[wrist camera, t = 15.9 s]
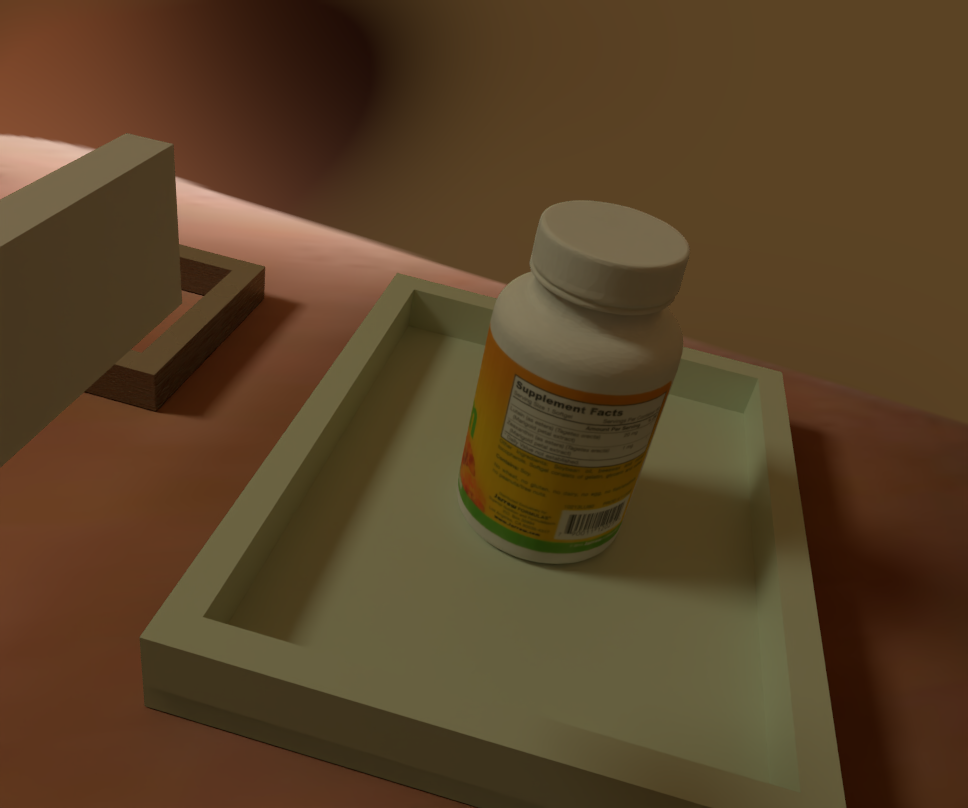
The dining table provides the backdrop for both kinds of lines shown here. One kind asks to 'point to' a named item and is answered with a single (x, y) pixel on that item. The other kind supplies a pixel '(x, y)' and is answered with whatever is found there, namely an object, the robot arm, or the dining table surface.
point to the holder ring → (187, 330)
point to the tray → (511, 598)
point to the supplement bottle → (573, 383)
